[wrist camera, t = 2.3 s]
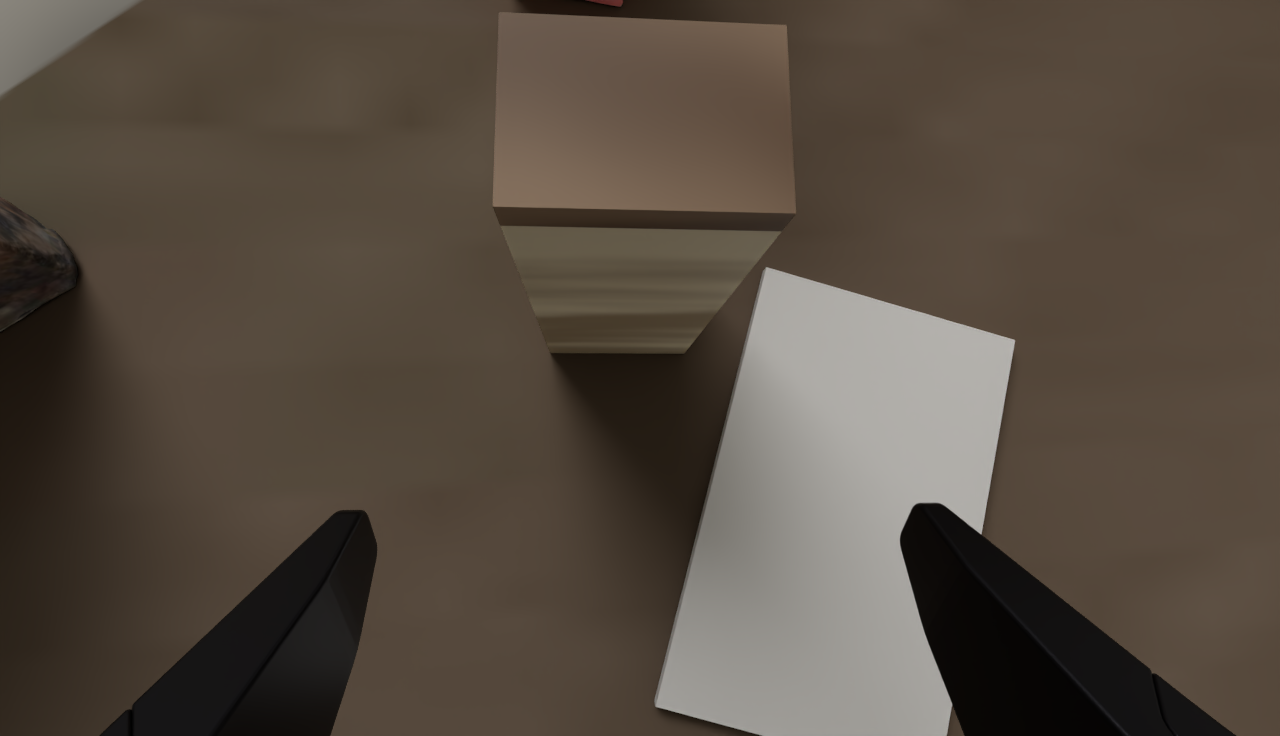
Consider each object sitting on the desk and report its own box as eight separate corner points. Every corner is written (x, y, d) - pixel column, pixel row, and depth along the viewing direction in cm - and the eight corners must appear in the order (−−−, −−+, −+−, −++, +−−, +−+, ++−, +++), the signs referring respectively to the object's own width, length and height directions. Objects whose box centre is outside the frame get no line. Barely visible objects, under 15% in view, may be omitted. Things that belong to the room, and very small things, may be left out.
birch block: (684, 353, 23) (796, 213, 10) (550, 352, 23) (493, 206, 10) (682, 264, 24) (786, 25, 11) (551, 262, 23) (499, 11, 10)
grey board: (930, 775, 21) (938, 783, 21) (654, 701, 21) (655, 706, 21) (1006, 342, 24) (1015, 340, 24) (762, 271, 24) (766, 267, 23)
